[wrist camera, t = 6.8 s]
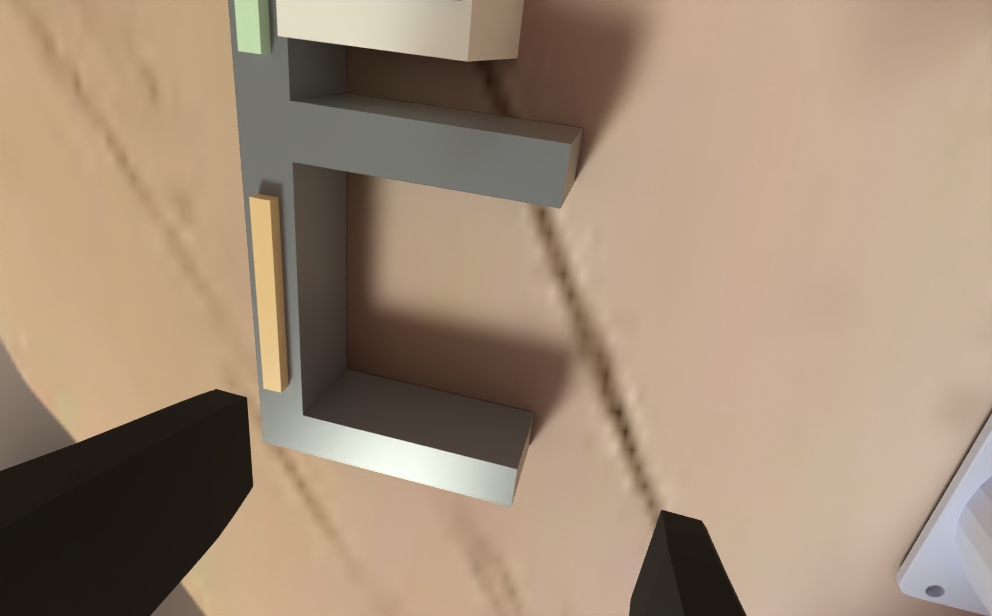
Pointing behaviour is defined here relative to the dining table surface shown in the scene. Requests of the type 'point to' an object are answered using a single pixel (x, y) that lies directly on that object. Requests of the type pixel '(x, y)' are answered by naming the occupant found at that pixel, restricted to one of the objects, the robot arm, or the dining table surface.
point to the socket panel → (322, 254)
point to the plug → (409, 26)
